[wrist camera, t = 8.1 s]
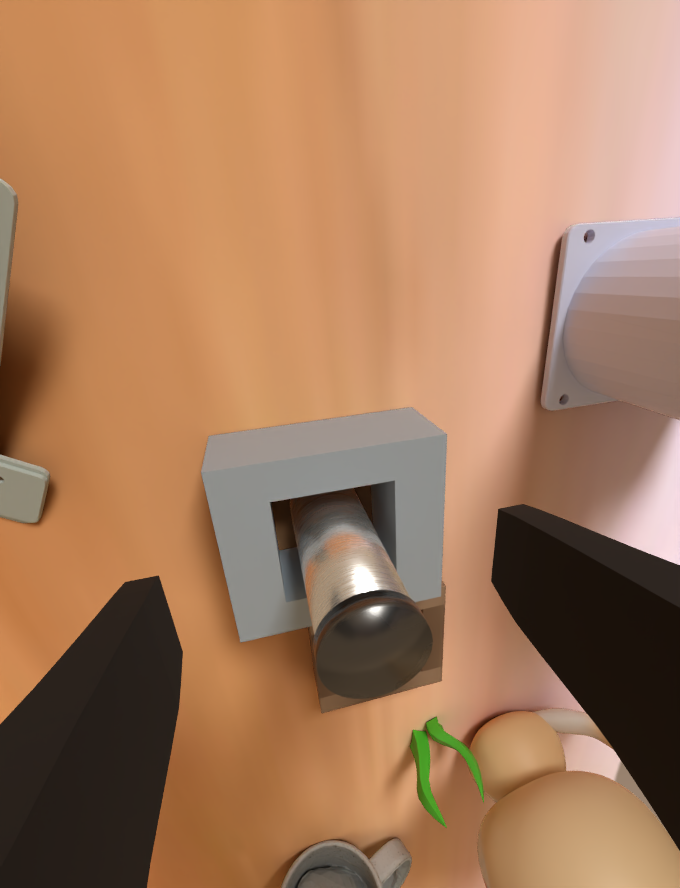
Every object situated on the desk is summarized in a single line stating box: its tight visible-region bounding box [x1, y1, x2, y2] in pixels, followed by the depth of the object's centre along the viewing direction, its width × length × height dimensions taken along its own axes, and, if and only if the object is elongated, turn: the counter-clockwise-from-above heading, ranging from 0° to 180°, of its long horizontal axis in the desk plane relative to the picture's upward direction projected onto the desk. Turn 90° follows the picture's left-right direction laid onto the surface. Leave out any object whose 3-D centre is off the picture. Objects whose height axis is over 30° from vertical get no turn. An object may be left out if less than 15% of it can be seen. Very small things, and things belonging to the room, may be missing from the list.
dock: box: [201, 407, 447, 642], centre depth 18 cm, size 9×8×4 cm
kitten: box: [410, 708, 680, 888], centre depth 23 cm, size 15×10×15 cm, turn 79°
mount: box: [308, 581, 446, 713], centre depth 22 cm, size 7×7×2 cm
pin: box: [290, 488, 433, 699], centre depth 15 cm, size 3×3×9 cm
